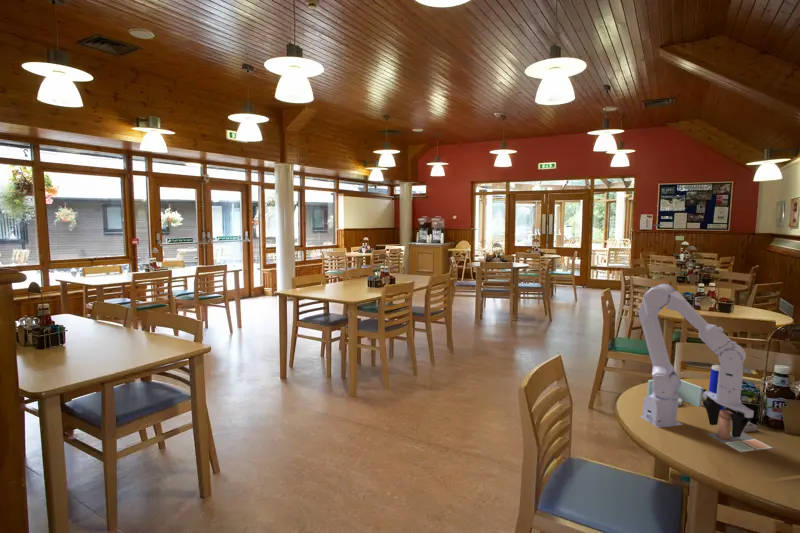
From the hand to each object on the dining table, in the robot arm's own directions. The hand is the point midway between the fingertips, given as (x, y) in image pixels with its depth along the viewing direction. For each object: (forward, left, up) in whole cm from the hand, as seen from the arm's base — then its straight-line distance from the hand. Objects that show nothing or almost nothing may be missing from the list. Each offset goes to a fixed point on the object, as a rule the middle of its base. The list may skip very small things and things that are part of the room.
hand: (724, 430), depth 139 cm
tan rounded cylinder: (0, 0, -2) cm, 2 cm away
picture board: (+3, -3, -3) cm, 5 cm away
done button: (+12, +4, -1) cm, 13 cm away
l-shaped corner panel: (+6, +26, -4) cm, 27 cm away
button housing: (+12, +4, -3) cm, 13 cm away
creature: (+21, +29, -3) cm, 35 cm away
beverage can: (+17, +18, -3) cm, 25 cm away
